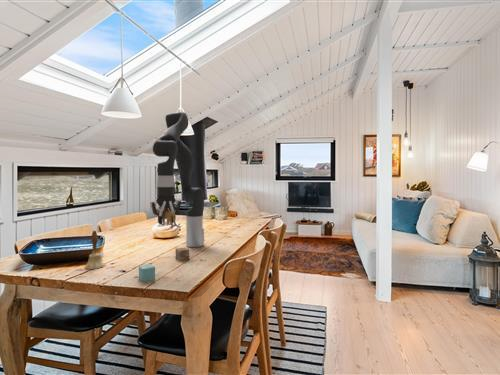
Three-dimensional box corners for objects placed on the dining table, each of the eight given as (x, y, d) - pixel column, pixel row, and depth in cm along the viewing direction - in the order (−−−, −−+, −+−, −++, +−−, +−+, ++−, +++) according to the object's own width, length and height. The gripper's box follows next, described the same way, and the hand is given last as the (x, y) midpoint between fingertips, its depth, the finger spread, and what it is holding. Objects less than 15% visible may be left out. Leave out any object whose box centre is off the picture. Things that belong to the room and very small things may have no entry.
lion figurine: (154, 224, 141) (153, 205, 141) (164, 223, 145) (164, 204, 145) (173, 228, 132) (173, 207, 131) (183, 227, 136) (184, 206, 135)
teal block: (151, 275, 128) (151, 263, 127) (155, 279, 123) (155, 267, 123) (138, 278, 125) (138, 265, 125) (142, 281, 121) (142, 269, 120)
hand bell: (81, 266, 139) (80, 231, 138) (100, 262, 145) (100, 228, 144) (89, 270, 133) (88, 233, 132) (108, 266, 139) (108, 231, 138)
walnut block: (185, 257, 155) (185, 247, 154) (189, 259, 151) (189, 249, 150) (175, 258, 152) (175, 248, 152) (179, 261, 148) (179, 251, 148)
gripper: (178, 185, 146) (178, 221, 147) (147, 185, 138) (147, 224, 139) (184, 185, 140) (184, 223, 141) (152, 186, 132) (152, 226, 133)
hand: (166, 223), depth 140 cm, fingers closed on lion figurine, 4 cm apart
